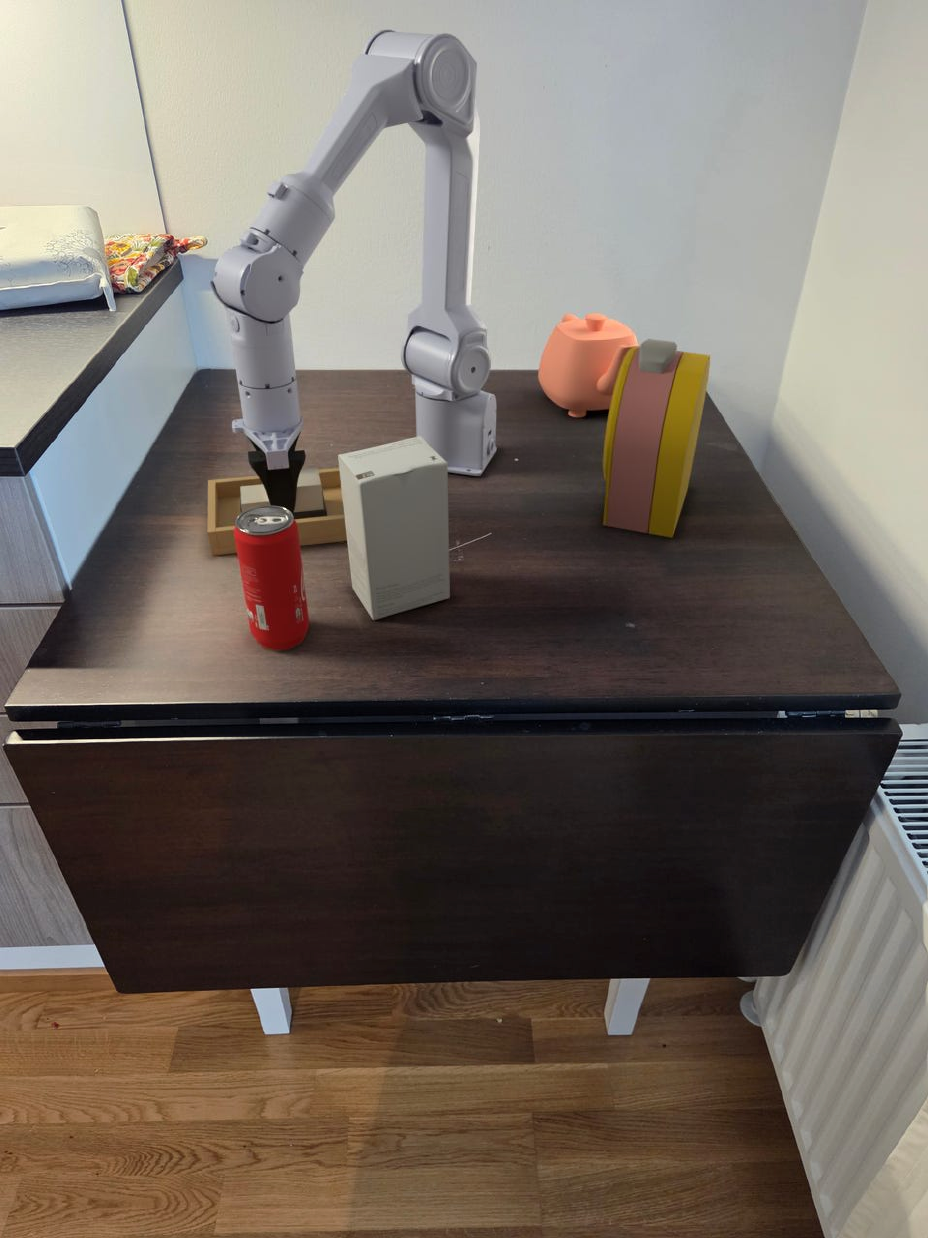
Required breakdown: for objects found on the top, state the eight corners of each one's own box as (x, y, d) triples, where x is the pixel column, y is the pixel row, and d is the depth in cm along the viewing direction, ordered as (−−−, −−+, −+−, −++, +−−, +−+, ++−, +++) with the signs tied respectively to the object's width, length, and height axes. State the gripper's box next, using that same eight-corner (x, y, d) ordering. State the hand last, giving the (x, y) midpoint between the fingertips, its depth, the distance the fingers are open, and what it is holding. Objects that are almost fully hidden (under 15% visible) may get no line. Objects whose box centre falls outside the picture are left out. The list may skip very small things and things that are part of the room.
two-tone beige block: (323, 499, 97) (320, 465, 95) (327, 519, 94) (324, 484, 91) (241, 508, 96) (235, 473, 93) (242, 528, 92) (236, 493, 90)
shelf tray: (350, 488, 101) (348, 466, 100) (363, 539, 92) (362, 515, 90) (212, 502, 98) (207, 479, 97) (211, 555, 89) (207, 532, 88)
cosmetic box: (426, 570, 87) (424, 432, 78) (452, 602, 83) (452, 459, 74) (347, 591, 84) (335, 449, 75) (369, 625, 80) (359, 478, 71)
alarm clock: (620, 472, 105) (640, 318, 94) (689, 483, 103) (717, 327, 92) (592, 531, 94) (611, 364, 83) (669, 545, 91) (699, 375, 81)
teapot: (575, 440, 112) (584, 346, 105) (519, 384, 128) (523, 299, 120) (667, 427, 116) (682, 336, 108) (602, 374, 131) (610, 291, 124)
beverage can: (255, 619, 80) (236, 504, 73) (312, 617, 81) (298, 502, 74) (248, 655, 76) (228, 536, 69) (308, 652, 76) (294, 534, 69)
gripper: (224, 356, 91) (242, 474, 99) (226, 410, 79) (246, 538, 87) (293, 351, 92) (305, 468, 100) (304, 404, 81) (317, 531, 89)
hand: (282, 500), depth 94 cm, fingers closed on two-tone beige block, 4 cm apart
